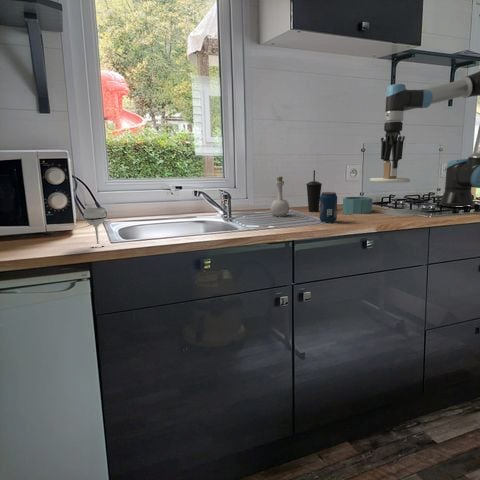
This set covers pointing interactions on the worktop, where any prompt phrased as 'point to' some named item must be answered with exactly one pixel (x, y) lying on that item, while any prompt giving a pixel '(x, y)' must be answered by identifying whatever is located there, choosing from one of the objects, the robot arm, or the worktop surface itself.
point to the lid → (387, 176)
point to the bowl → (357, 205)
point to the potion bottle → (279, 201)
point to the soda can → (328, 207)
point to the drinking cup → (313, 195)
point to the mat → (402, 212)
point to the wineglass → (95, 217)
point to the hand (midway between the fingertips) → (389, 175)
